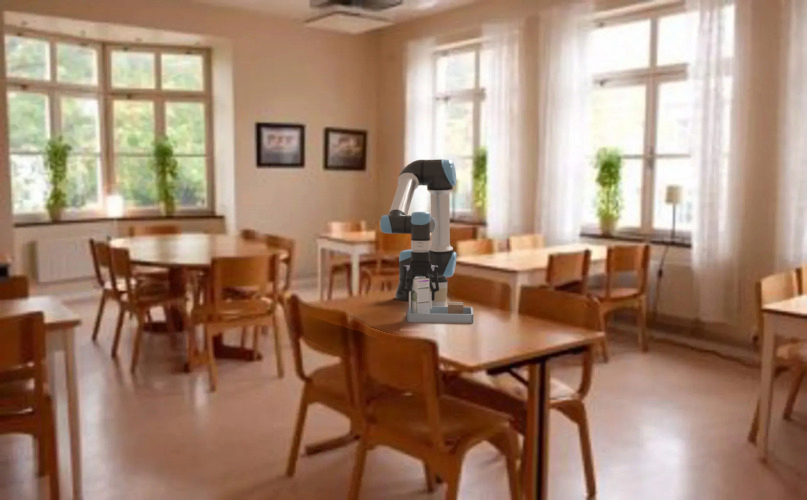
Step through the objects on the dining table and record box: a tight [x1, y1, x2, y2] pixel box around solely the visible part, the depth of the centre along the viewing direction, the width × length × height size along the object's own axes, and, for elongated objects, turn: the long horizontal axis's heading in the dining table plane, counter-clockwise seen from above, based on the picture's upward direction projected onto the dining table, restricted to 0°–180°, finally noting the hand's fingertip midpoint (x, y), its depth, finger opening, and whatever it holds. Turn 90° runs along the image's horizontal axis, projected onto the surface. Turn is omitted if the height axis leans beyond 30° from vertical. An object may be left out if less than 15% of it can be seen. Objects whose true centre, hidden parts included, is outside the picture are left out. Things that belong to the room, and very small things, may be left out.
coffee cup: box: [429, 275, 449, 307], centre depth 289 cm, size 9×9×15 cm
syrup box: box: [411, 277, 430, 314], centre depth 268 cm, size 6×6×14 cm
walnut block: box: [447, 301, 464, 314], centre depth 268 cm, size 6×6×6 cm
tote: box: [406, 306, 474, 324], centre depth 268 cm, size 16×26×4 cm, turn 85°
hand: (420, 308), depth 269 cm, fingers closed on syrup box, 7 cm apart
